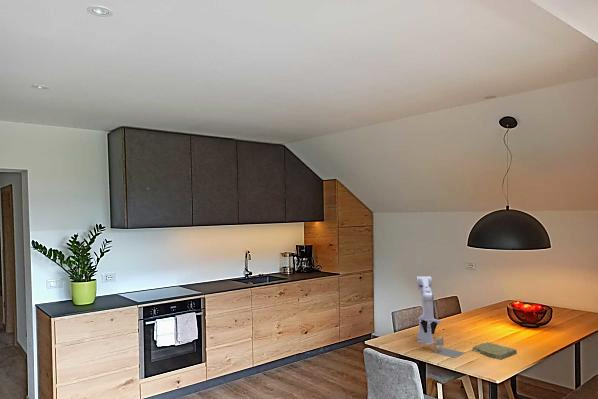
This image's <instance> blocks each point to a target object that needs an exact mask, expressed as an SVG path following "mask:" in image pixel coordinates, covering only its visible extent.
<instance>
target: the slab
mask: <svg viewBox="0 0 598 399" xmlns="http://www.w3.org/2000/svg"><path fill="white" fill-rule="evenodd" d="M433 341H434V343H433V349H434V350H433V351H435V352H436V353H439V352H441V351H443V350H444V348H445V347H444V337H443V336H437V337H435V338H433Z"/></svg>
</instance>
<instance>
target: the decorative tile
mask: <svg viewBox="0 0 598 399" xmlns="http://www.w3.org/2000/svg"><path fill="white" fill-rule="evenodd" d="M471 352H475V353H479V355H483V356H485V357H489V358H492V359H496V360H500V361H502V360H505V359H507V358H510V357H511V356H515V355H517V353H518V349H516V348H511V347H507V346H503V345H500V344H495V343H491V342H488V341H487V342H481V343H480V344H479V343H478V344H476V345H474V346H473V347H472V349H471Z"/></svg>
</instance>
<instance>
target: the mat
mask: <svg viewBox="0 0 598 399" xmlns="http://www.w3.org/2000/svg"><path fill="white" fill-rule="evenodd" d="M430 353H432V354H435V355H440V356H445V357H449V358H454V359H456V358H457V357H460V356H462V355H463V354H465V352H463V351H459V350H456V349H455V350H454V349H449V348H446V347H444V350H443V351H441V352H439V353H436V352H435V351H434V350H433V351H431V352H430Z"/></svg>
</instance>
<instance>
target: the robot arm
mask: <svg viewBox="0 0 598 399" xmlns="http://www.w3.org/2000/svg"><path fill="white" fill-rule="evenodd" d="M432 286H433V279H432V276H431V275H429V276H427V275H426V276H425V275H424V276H423V275H422V276H421V275H420V276H419V275H417V276H416V288H417V290H419V291H420V294H421V305H422V314H421V315H420V316H418V317H417V320H418V326H419V328H418V330H417V341H416V342H417V343H420V344H425V345H433V344H434V335H435V332H436V329H437V326H438V324H441V319H436V318H435V316H434V302H435V295H434V292H433V291H432V288H433V287H432Z"/></svg>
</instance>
